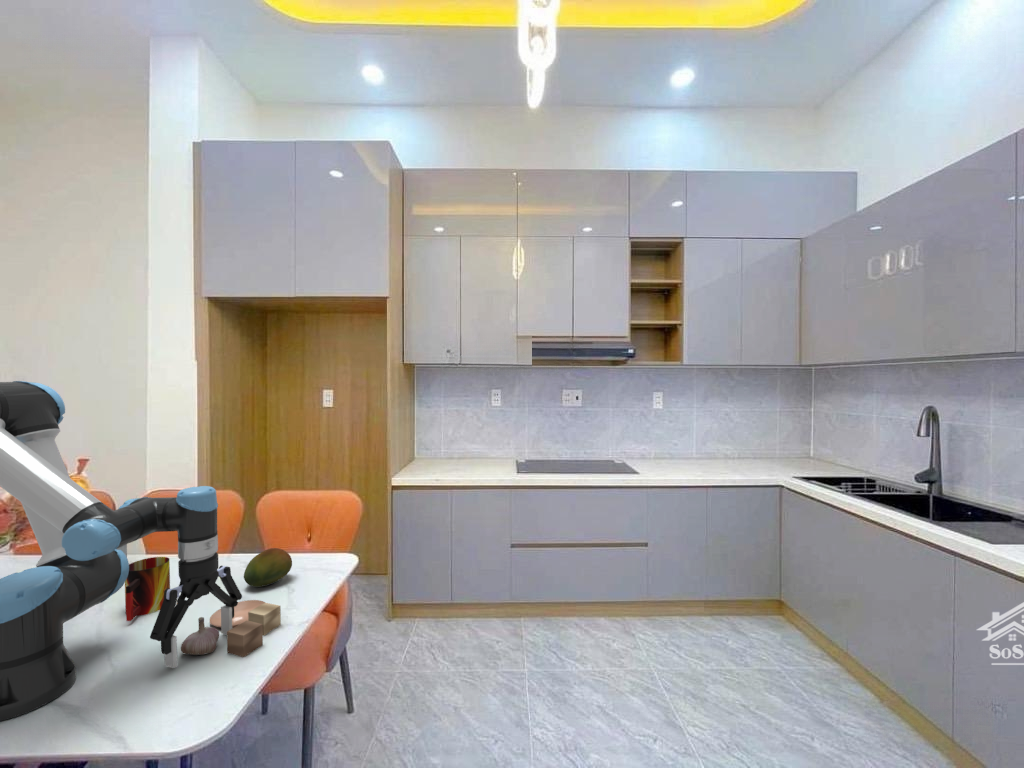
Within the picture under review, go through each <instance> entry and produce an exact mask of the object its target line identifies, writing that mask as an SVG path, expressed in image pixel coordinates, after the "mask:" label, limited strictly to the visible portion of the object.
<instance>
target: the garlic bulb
mask: <svg viewBox="0 0 1024 768" xmlns="http://www.w3.org/2000/svg"><path fill="white" fill-rule="evenodd" d="M197 621H198V630H197V631H195V632H192V633H190V634H189V635H188V636H187V637H186V638H185V639H184V640H183V642H182V643H181V644H180V651H181V653H183V654H184V655H190V656H192V655H193V656H198V655H201V656H203V655H207V654H211V653H213V652H214V651H215V650H216V649H217V646H218V645H217V644H218V641H219V639H220V632H219V630H218V629H217V627H214V626H212V627H211V626H205V617H203V616H200V617H199V618H198V620H197Z"/></svg>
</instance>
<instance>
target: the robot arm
mask: <svg viewBox="0 0 1024 768" xmlns="http://www.w3.org/2000/svg"><path fill="white" fill-rule="evenodd" d="M64 402H65V401H64V400H63V398H62V397H61V395H60V394H59V393H58V391H56V390H55V389H54V388H53V387H50V386H49V385H46V384H43V383H40V382H32V381H22V380H15V381H0V488H2V489H3V490H4V491H5V492H7V493H8V494H10V495H11V496H12V497H13V498H15V499H16V500H18V501H19V502H20V503H21V505H22V508H23V511H24V513H25V516H26V518H27V520H28V522H29V525H30V528H31V530H32V532H33V534H34V537H35V539H36V542H37V544H38V547H39V549H40V551H41V557H40V558H39V560H38V562H37V563H36V564H35V566H36V567H31V568H27V569H24V570H22V571H20V572H13V573H11V574H8V575H6V576H3V577H0V722H2V721H5V720H9V719H13V718H15V717H19V716H22V715H24V714H27V713H29V712H31V711H33V710H36V709H39V708H40V707H43V706H45V705H46V704H48V703H50V702H52V701H54V700H55V699H57V698H59V697H60V696H62V695H63V694H64V693H65V692H66V691H69V690H70V688H71V687H72V686H73V685H74V683H75V682H76V679H77V668H76V665H75V662H74V661H73V659H72V657H71V655H70V653H69V651H68V650H67V648H66V646H65V644H64V643H65V642H64V624H65V623H67V622H68V621H70V620H72V619H74V618H75V617H77V616H79V615H81V614H82V613H84V612H86V611H87V610H89V609H91V608H93V607H94V606H97V605H99V604H102V603H103V602H105V601H106V600H108V599H109V598H110V597H111V596H113V595H114V594H116V593H117V592H119V591H120V589H122V587H123V586H125V581H126V579H127V577H128V573H129V564H130V562H129V559H128V556H127V557H126V555H125V554H124V553H123V551H121V550H117V548H120V547H122V546H124V545H126V544H127V545H128V544H129V543H133V542H136V541H137V540H140V539H142V538H144V537H146V536H148V535H151V534H153V533H159V532H160V533H161V532H177V558H178V559H179V560H178V566H177V567H178V577H179V580H180V582H179V584H178V586H176V587H173V588H171V587H170V588H167V589H166V590H165V591H164V601H163V603H162V606H161V609H160V610H159V611H158V615H157V617H156V620H155V622H154V625H153V627H152V631H151V633H150V636H149V639H150V640H153V641H158V642H160V652H161V654H163V655H164V666H165V667H168V668H171V669H175V668H177V667H178V646H177V645H178V642H177V641H178V637H177V635H175V632H176V630H177V628H178V627H179V625H180V624H181V622H182V620H183V618H184V617H185V614H186V612H187V611H188V609H189V607H190V606H192V605H193V603H194V601H196V600H199V599H201V598H202V597H204V596H207V595H209V594H212V595H213V597H215V598H217V600H218V601H220V602H221V603H223V605H222V606H220V609H221V628H220V630H221V632H220V633H221V635H226V636H227V631H229V630H231V629H232V618H234V607H235V606H237V604H238V602H239V601H241V600H242V598H243V594H242V593H241V591H240V590H239V587H238V584H237V583H236V582H235V579H234V578H233V576H232V571H231V567H230V566H227V565H219V553H218V551H219V536H218V535H219V534H218V507H219V504H218V497H217V489H216V488H214V487H213V486H209V485H200V486H190V487H187V488H183V489H180V490H179V491H177V495H176V497H175V496H174V497H172V496H171V497H169V496H168V497H167V496H166V497H152V496H151V497H148V496H142V497H138V498H137V497H136V498H130V499H127V500H126V501H124V502H123V503H122V504H121V505H120V506H119V507H118V508H117V509H114V510H113V509H112V508H111V507H109V506H108V505H107V504H105V503H104V502H102V501H101V500H100V499H98V498H97V497H95V496H94V495H93V494H92V493H90V492H89V491H88V490H86V489H85V488H83V487H82V486H81V485H80V484H78V483H77V482H76V481H74V480H73V479H72V478H71V477H70V474H69V472H68V470H67V467H66V465H65V462H64V460H63V458H62V455H61V452H60V450H59V447H58V445H57V441H55V440H56V437H57V436H58V435H59V433H60V432H61V429H60V426H59V425H60V424H61V422H63V419H64V417H65V416H63V415H65V413H66V405H65V403H64ZM218 578H219V579H220V581H221V583H222V584H223V586H224V588H225V590H226V592H225V590H223V589H222V588H221V586H219V584H218V583H216V582H217V580H218ZM186 599H187V600H186Z"/></svg>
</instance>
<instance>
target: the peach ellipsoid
mask: <svg viewBox="0 0 1024 768" xmlns="http://www.w3.org/2000/svg"><path fill="white" fill-rule="evenodd" d="M237 602H238V604H237V606H235V607H234V618H232V628H234V627H236V626H238V625H239V624H241V623H243V622H245V621H246V620H247V621H248V612H249V611H251V610H253V609H255V608H257V607H258V606H260V605H262V604H264V603H266V602H265V601H263V600H258V599H257V600H256V599H249V600H242V601H241V600H240V601H237ZM209 623H210V625H211V626H212V627H214V628H220V629H221V608H219V609H218V610H216V611H215V612H214V613H213V614H211V616H210V617H209Z"/></svg>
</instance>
